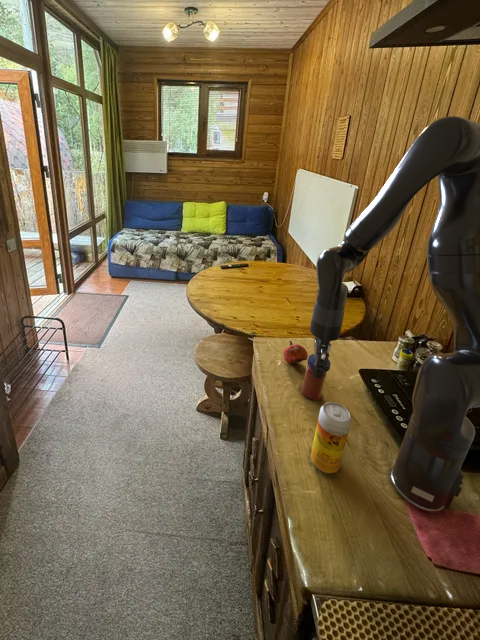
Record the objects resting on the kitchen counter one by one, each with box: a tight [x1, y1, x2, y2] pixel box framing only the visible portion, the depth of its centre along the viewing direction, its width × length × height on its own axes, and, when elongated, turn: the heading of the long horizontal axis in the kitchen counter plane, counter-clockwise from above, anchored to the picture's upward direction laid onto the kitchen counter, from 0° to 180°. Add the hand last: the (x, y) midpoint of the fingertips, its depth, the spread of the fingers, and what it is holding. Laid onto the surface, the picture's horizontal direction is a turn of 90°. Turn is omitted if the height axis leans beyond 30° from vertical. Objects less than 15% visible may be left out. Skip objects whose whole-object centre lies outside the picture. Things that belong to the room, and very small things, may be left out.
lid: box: [307, 353, 332, 373], centre depth 86 cm, size 6×6×2 cm
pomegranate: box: [283, 340, 309, 372], centre depth 101 cm, size 7×7×10 cm
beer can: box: [310, 401, 352, 474], centre depth 67 cm, size 6×6×15 cm
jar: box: [301, 365, 327, 401], centre depth 88 cm, size 5×5×10 cm
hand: (317, 370), depth 87 cm, fingers closed on lid, 5 cm apart
